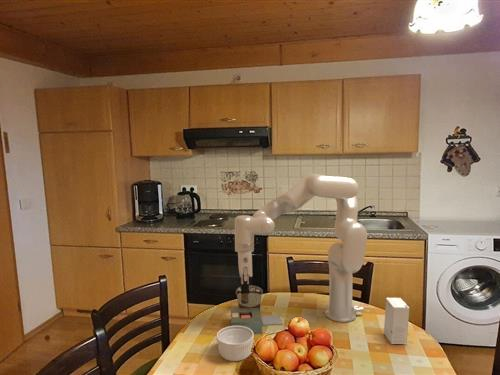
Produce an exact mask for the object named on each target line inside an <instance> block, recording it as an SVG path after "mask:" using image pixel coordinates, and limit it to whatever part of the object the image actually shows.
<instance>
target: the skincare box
mask: <svg viewBox="0 0 500 375" xmlns="http://www.w3.org/2000/svg"><path fill="white" fill-rule="evenodd" d="M385 299H386V300H385V312H384V325H383V326H384V327H383V335H386V336H385V338H386V339H387V340H388V341H389V343H390V345H391V344H405V343H407V344H408V331H409V320H410V319H409V318H410V306H408V305H407V303H406V302H405V301H404V300H403V299H402V298H401V297H386V298H385Z"/></svg>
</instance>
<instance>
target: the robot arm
mask: <svg viewBox="0 0 500 375" xmlns="http://www.w3.org/2000/svg"><path fill="white" fill-rule="evenodd" d="M358 192H359V184H358V183H357V181H356V180H355V179H354V178H351V177H348V176H347V177H346V176H341V175H333V176H330V175H325V174H319V173H310V174H307V175H306V176H304V177H303V178H302V179H300V180H299V181H297V183H296V184H294V185H293V186H291V187H290V188H289V189H288V190H287V191H285V192H284V193H283V194H281V195H279V196H277V197H276V198H274V199H272V200H270V201H268V202H267V203H265V204H264V205H263V206H261V207H260V208H259V209H257V210H256V211H255V212H254V213H253V215H252V216H251V215H248V214H247V215H243V214H242V215H237V216H236V217H235V218H234V252H236V253H237V258H238V259H237V260H238V262H237V264H238V265H237V266H238V273H239V277H240V287H241V294H248V293H249V286H250V282H249V279H250V278H252V277H253V256H252V255H253V254H252V253H253V252H254V250H255V235H257V236H267V235H270V234H272V233H273V231H274V230H275V226H276V225H275V221H274V220H275V219H276V218H278V217H280V216H281V215H285V214H287V213H294V212H296V211H298V210H299V209H301V208H302V207H303V206H305V205H306V204H307V203H308V202H310V201H311V200H312V199H313V198H314V197H319V198H325V199H335V202H336V213H335V214H336V215H335V222H334V228H333V233H334V236H335V237H336V238H337V239H338V240H340V241H342V242H335V243H332V244H331V245H330V246H329V249H328V251H327V262H328V268H329V280H328V281H329V288H328V290H329V291H328V292H329V295H328V296H329V297H328V298H329V299H328V300H329V302H328V304H329V305H328V308H327V309H326V310H325V316H326V318H328V320H331V321H334V322H338V323H349V322H353V321H355V319H357V318H356V317H357V315H356V313H357V312H358V313H363V312H364V307H363V306H360V307H359V305H353V282H354V281H353V278H354V277H353V274H355V273H357V272H359V271H360V270H361V268H362V266H363V265H364V260H365V254H366V249H367V242H368V233H367V230H366V228H365V226H364V225H363V224H362V223H361V222H358V216H359V211H358V210H359V202H358V201H359V200H358V197H357V194H358ZM243 275H244V276H243ZM249 277H250V278H249ZM241 278H242V284H241ZM243 278H244V279H243Z"/></svg>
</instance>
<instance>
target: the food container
mask: <svg viewBox="0 0 500 375" xmlns="http://www.w3.org/2000/svg"><path fill="white" fill-rule="evenodd" d="M235 294H236V298H237V306H238V309H243V308H259V310H260V311H261V307H262V297H263V296H262V295H264V293H263V289H262V288H261V287H260V286H257V285H249V293H248V298H249V303H247V304H242V303H241V286H239V287H238V288H237V289H236V290H235Z"/></svg>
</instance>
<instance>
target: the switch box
mask: <svg viewBox="0 0 500 375" xmlns="http://www.w3.org/2000/svg"><path fill="white" fill-rule="evenodd" d="M241 315H250V317H251V318H241ZM261 316H262V314H261V309H260V310H259V308H243V309H239V308H231V309H230V326H244V327H247V328H249V329H251V330H252V331H253V333H254V335H259V334H260V335H261V334H263V323H262V318H261Z"/></svg>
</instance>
